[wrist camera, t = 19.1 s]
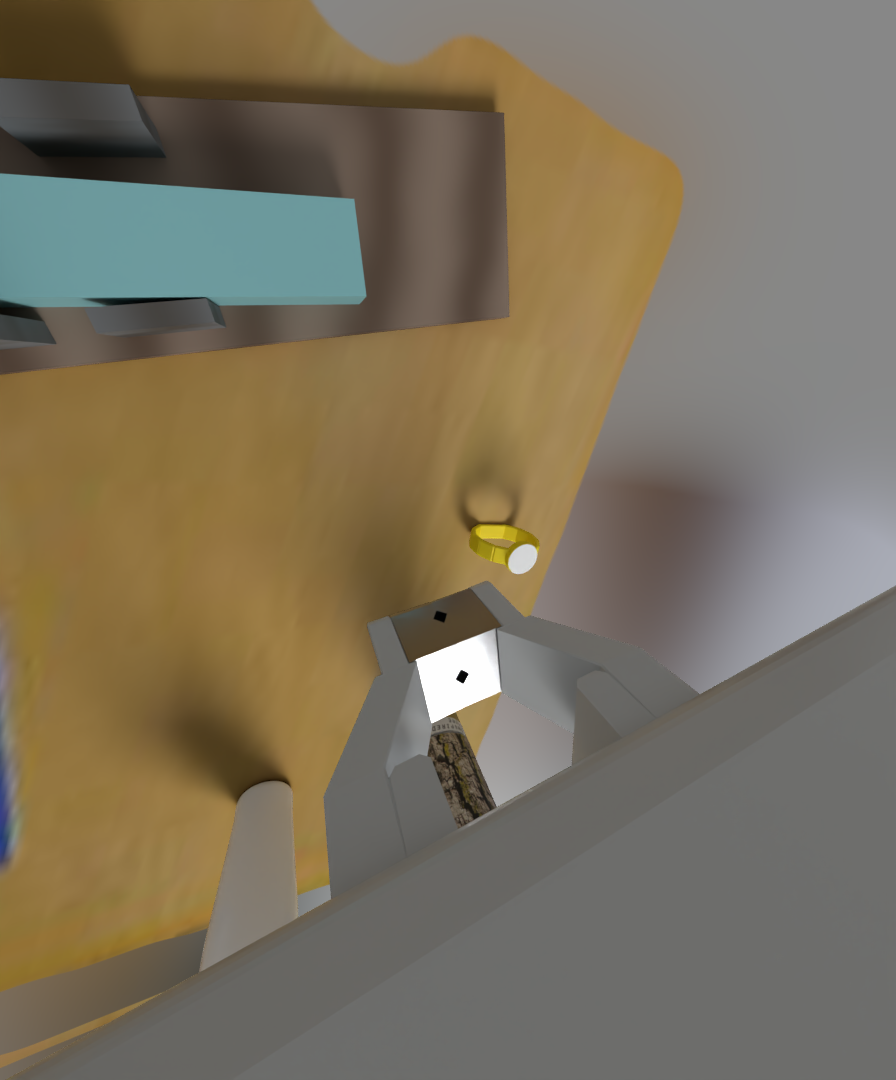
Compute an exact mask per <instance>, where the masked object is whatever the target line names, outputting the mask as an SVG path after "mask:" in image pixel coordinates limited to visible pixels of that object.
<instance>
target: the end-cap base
mask: <svg viewBox="0 0 896 1080" xmlns="http://www.w3.org/2000/svg"><path fill="white" fill-rule="evenodd" d="M0 174H14V175H28V176H42V177H56V178H70V179H84V180H98V181H112V182H125V183H139V184H153V185H167V186H181V187H195V188H209V189H223V190H236V191H250V192H264V193H278V194H292V195H306V196H320V197H334V198H348V199H354V202H355V210H356V217H357V225H358V233H359V241H360V249H361V257H362V265H363V273H364V281H365V288H366V297H365V299H364V300H363V301H362V302H361V303H360V304H332V305H223V306H217V305H216V304H214V303H213V302H211V301H210V300H208V299H207V298H203V299H190V300H178V301H165V302H152V303H140V304H127V305H114V306H102V307H5V308H0V375H1V374H10V373H19V372H28V371H37V370H46V369H55V368H64V367H73V366H82V365H90V364H99V363H108V362H117V361H126V360H135V359H144V358H153V357H162V356H171V355H179V354H188V353H197V352H206V351H215V350H224V349H233V348H242V347H251V346H260V345H269V344H277V343H286V342H295V341H304V340H313V339H322V338H331V337H340V336H349V335H358V334H367V333H375V332H384V331H393V330H402V329H411V328H420V327H429V326H438V325H447V324H456V323H465V322H473V321H482V320H491V319H500V318H506V317H509V284H508V246H507V209H506V171H505V133H504V113H497V112H475V111H454V110H432V109H411V108H389V107H367V106H346V105H324V104H302V103H281V102H259V101H237V100H216V99H194V98H173V97H151V96H136V95H135V94H134V92H133V90H132V89H131V87H130V86H129V85H124V84H105V83H86V82H67V81H48V80H29V79H10V78H0Z"/></svg>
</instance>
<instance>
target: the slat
mask: <svg viewBox="0 0 896 1080" xmlns="http://www.w3.org/2000/svg"><path fill="white" fill-rule="evenodd" d="M365 297H366V288H365V281H364V273H363V265H362V257H361V249H360V241H359V233H358V225H357V217H356V210H355V202H354V199H348V198H334V197H320V196H306V195H292V194H278V193H264V192H250V191H236V190H223V189H209V188H195V187H181V186H167V185H153V184H139V183H125V182H112V181H98V180H84V179H70V178H56V177H42V176H28V175H14V174H0V308H5V307H102V306H114V305H127V304H140V303H152V302H165V301H178V300H190V299H203V298H207V299H208V300H210V301H211V302H213V303H214V304H216V305H217V306H223V305H332V304H360V303H361V302H362V301H363V300H364V299H365Z"/></svg>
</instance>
